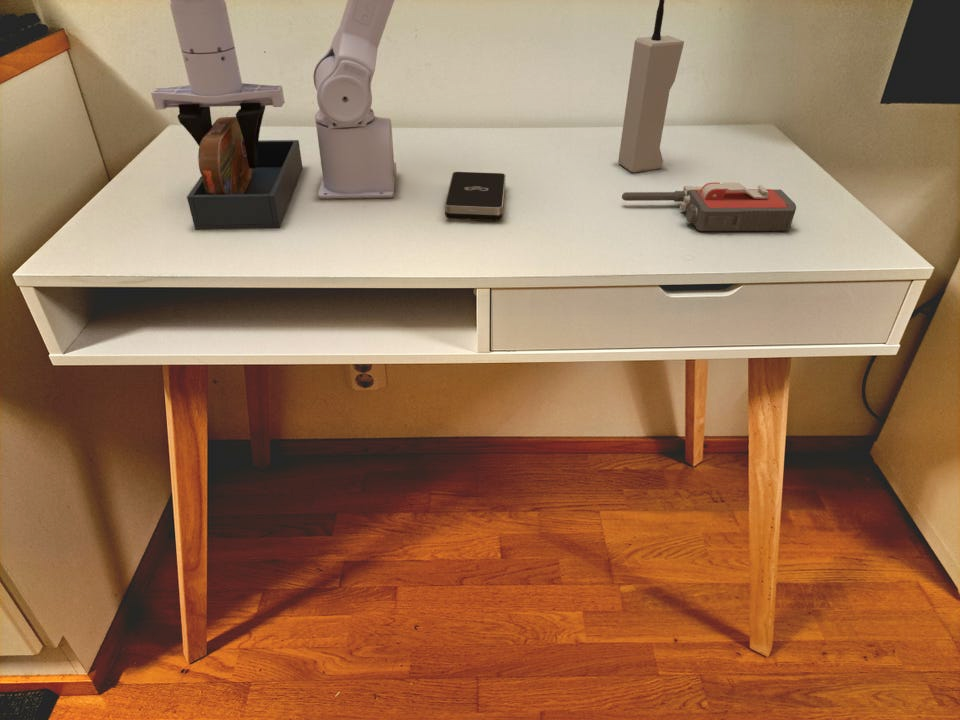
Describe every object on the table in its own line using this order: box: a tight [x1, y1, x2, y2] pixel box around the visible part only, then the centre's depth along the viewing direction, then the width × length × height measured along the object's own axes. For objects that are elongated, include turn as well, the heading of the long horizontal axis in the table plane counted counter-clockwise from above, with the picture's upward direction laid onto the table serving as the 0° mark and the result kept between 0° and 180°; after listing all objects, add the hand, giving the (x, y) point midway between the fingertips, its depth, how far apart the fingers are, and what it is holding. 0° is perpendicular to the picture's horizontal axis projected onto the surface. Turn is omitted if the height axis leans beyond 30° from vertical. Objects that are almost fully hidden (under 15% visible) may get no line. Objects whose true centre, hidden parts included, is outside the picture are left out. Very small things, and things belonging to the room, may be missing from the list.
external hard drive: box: [444, 171, 506, 221], centre depth 85 cm, size 7×11×2 cm, turn 176°
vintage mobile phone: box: [617, 0, 685, 174], centre depth 89 cm, size 4×5×25 cm
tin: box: [197, 116, 253, 195], centre depth 84 cm, size 15×3×8 cm, turn 4°
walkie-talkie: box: [621, 182, 797, 232], centre depth 82 cm, size 9×4×20 cm
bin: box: [186, 139, 304, 230], centre depth 85 cm, size 10×19×4 cm, turn 4°
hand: (234, 166), depth 84 cm, fingers open, 4 cm apart
